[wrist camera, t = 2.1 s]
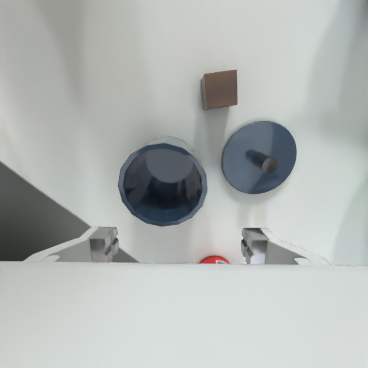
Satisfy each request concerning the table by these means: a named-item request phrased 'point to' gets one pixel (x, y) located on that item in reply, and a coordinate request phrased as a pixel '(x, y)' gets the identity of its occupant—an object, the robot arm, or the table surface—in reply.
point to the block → (219, 89)
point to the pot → (163, 182)
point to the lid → (259, 157)
